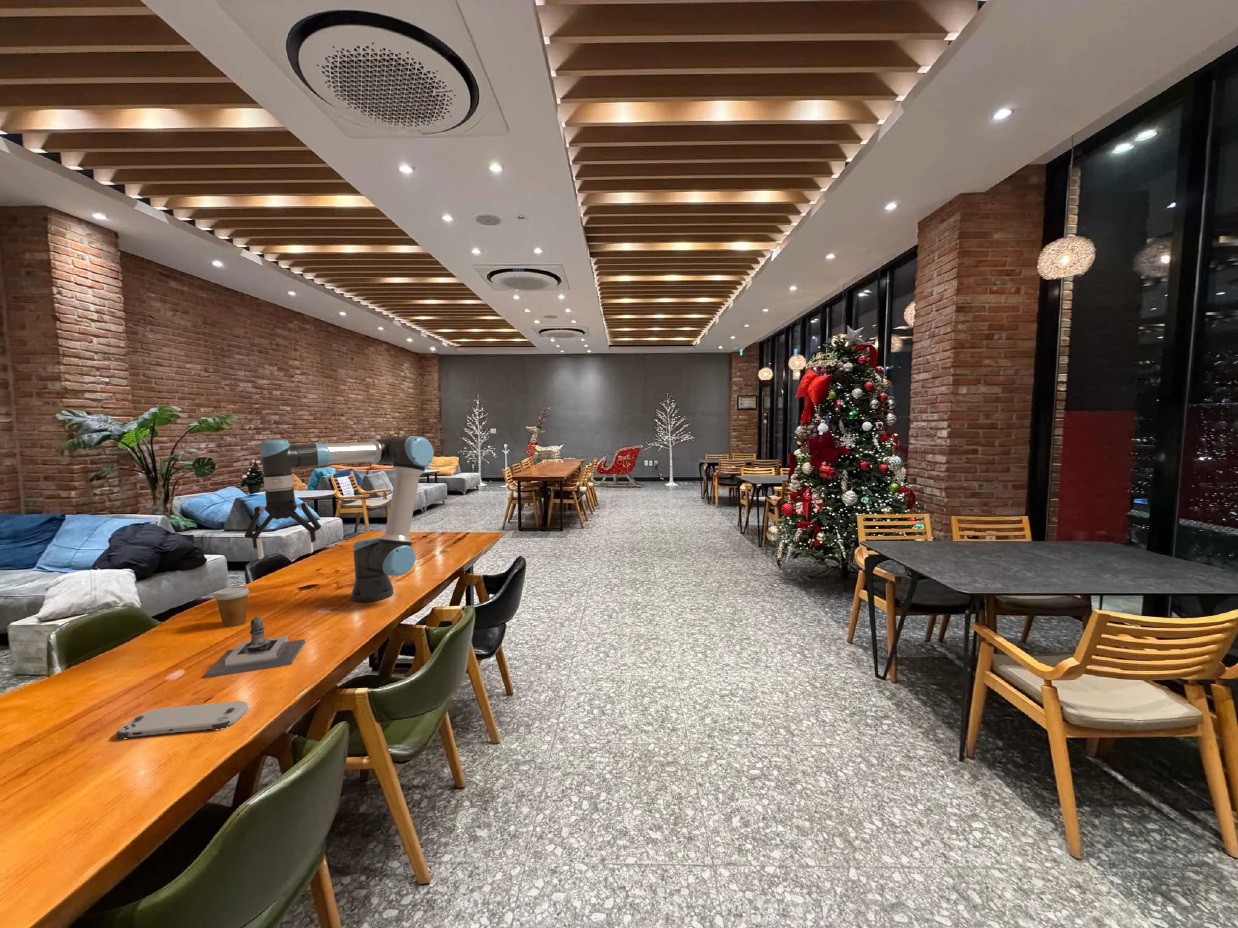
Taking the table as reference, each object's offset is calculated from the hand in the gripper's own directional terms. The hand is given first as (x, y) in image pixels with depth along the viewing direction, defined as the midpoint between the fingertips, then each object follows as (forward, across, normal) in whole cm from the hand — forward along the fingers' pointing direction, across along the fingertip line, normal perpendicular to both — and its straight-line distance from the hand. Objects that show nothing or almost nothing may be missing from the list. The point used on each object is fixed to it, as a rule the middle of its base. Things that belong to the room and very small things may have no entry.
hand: (286, 555), depth 161 cm
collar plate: (+26, -6, -16) cm, 31 cm away
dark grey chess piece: (+25, -6, -16) cm, 30 cm away
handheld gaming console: (+26, -12, -48) cm, 56 cm away
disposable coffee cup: (+27, -22, +21) cm, 40 cm away
